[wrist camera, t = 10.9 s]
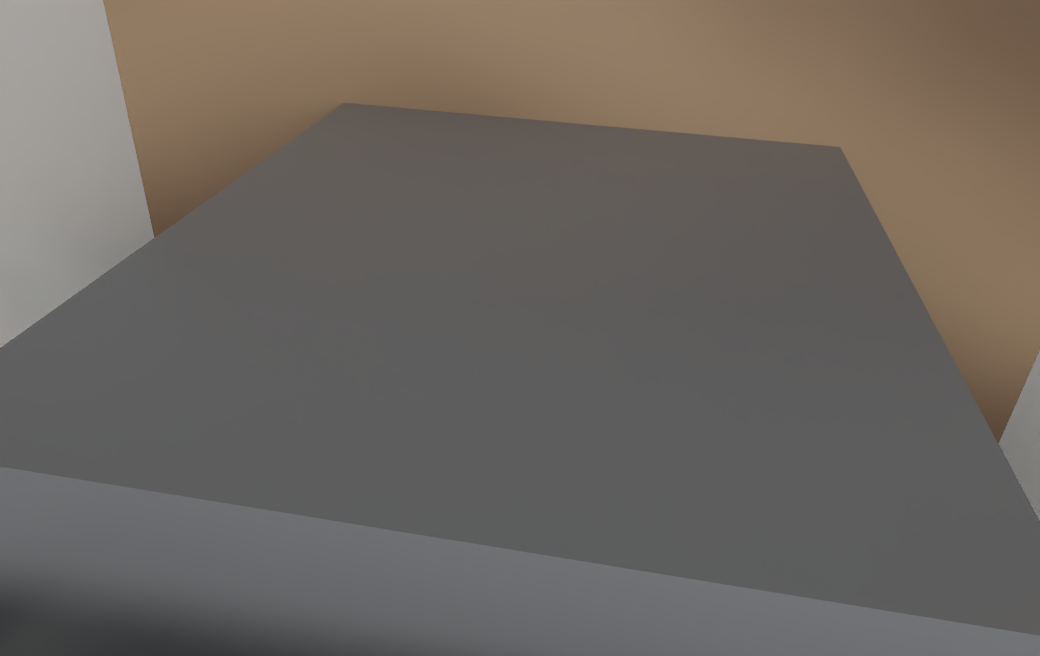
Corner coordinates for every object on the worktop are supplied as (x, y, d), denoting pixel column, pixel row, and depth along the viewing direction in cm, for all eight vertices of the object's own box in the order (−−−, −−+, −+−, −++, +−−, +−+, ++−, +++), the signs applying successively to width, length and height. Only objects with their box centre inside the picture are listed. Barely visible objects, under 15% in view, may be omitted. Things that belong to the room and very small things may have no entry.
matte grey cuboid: (840, 147, 11) (1105, 646, 4) (745, 526, 14) (798, 1128, 8) (343, 102, 12) (-136, 444, 5) (371, 469, 15) (118, 960, 8)
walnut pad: (881, 639, 16) (892, 682, 16) (247, 533, 18) (225, 565, 17) (1207, -148, 9) (1261, -150, 8) (108, -193, 11) (60, -197, 10)
